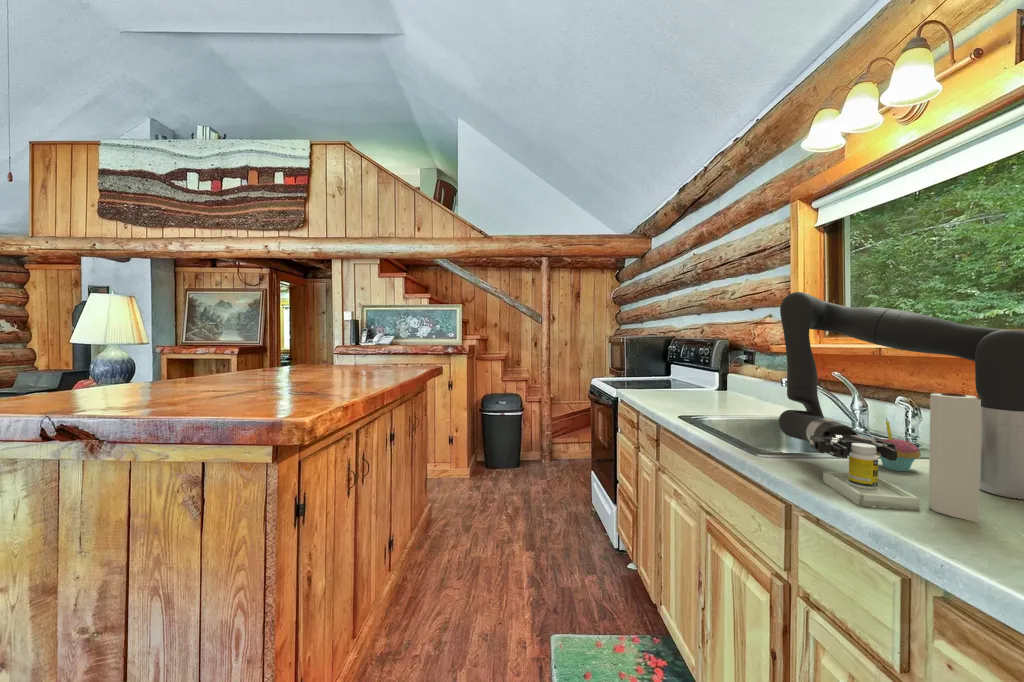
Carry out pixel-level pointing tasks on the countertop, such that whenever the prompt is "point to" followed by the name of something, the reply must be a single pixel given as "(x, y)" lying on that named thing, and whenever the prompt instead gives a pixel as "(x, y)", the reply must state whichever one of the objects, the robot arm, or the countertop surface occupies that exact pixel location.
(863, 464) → the supplement bottle
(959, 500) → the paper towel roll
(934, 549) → the countertop surface
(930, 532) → the countertop surface
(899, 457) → the cupcake
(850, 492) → the tray
